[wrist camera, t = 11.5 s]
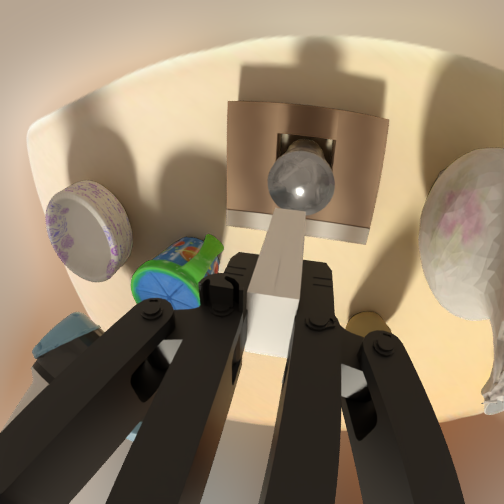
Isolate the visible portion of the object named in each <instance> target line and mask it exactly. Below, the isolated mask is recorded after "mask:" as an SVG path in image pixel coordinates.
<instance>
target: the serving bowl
mask: <svg viewBox="0 0 504 504" xmlns="http://www.w3.org/2000/svg"><path fill="white" fill-rule="evenodd" d="M503 400H504V396H503ZM484 401H485V400H484ZM502 411H504V401H503V403H502V401H499V400H497V404H496V403H487V404H484V412H485V414H488V415H492V414H496V413H499V412H502Z"/></svg>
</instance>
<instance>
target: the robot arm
mask: <svg viewBox="0 0 504 504" xmlns="http://www.w3.org/2000/svg"><path fill="white" fill-rule="evenodd" d="M305 217H306V211H298V210H290V209H282V208H275V210H274V213H273V216H272V219H271V222H270V225H269V228H268V231H267V234H266V237H265V240H264V243H263V246H262V249H261V252H260V255H257V254H250V253H242V252H239V253H237V254H236V255H234V256H233V257H232V258H231V259H230V261H229V263H228V265H227V267H226V269H225V271H224V273H215V274H210V275H208V276H206V277H204V278H202V279H201V280H200V281H199V282H198V287H199V297H200V306H199V307H197V308H193V309H179V310H174V309H173V307H172V305H171V303H170V302H168V301H167V300H166V299H162V298H149V299H145V300H143V301H141V302H139V303H138V304H136V305H135V306H134V307H133V308H132V309H131V310H130V311H128V312H127V313H126V314H125V315H124V316H123V317H122V318H120V319H119V320H118V321H117V322H116V323H115V324H114V325H113V326H111V327H110V328H109V329H108V330H107V331H106V332H104V331H103V330H102V329H100V328H101V327H100V326H99V325H96V324H95V323H94V322H93V321H92V320H90V319H89V318H88V317H87V316H86V315H85V314H83V313H80V312H74V313H72V314H70V315H69V316H67V317H66V318H65V319H63V320H62V321H61V322H60V323H58V324H57V325H56V326H55V327H54V328H53V329H52V330H50V331H49V333H47V334H46V335H45V336H44V337H43V339H41V341H40V342H39V343H38V344H37V345H36V346H35V347H34V349H33V351H32V353H33V355H34V358H35V359H37V361H36V362H35V363H34V365H33V366H32V367H31V369H32V376H33V383H32V385H31V386H30V388H29V389H28V390H27V392H26V393H25V395H24V397H23V398H22V399H21V401H20V402H19V404H18V405H17V407H16V409H15V410H14V412H13V414H12V415H11V416H10V418H9V420H8V422H7V423H6V425H5V426H4V428H3V430H2V431H1V433H0V504H69V503H70V501H71V500H72V499H73V498H74V497H75V496H76V495H77V494H78V493H79V491H80V490H81V489H82V488H83V487H84V486H85V485H86V484H87V482H88V481H89V480H90V479H91V478H92V477H93V476H94V475H95V473H96V472H97V471H98V470H99V469H100V468H101V466H102V465H103V464H104V463H105V462H106V461H107V460H108V458H109V457H110V456H111V455H112V454H113V453H114V451H115V450H116V449H117V448H118V447H119V445H121V443H122V442H123V441H124V440H125V439H128V440H131V441H133V443H132V445H131V448H130V450H129V452H128V454H127V456H126V458H125V461H124V463H123V465H122V468H121V470H120V472H119V474H118V476H117V478H116V481H115V483H114V486H113V487H112V490H111V492H110V494H109V497H108V499H107V501H106V504H200V502H201V499H202V496H203V492H204V489H205V486H206V483H207V480H208V477H209V474H210V470H211V467H212V464H213V461H214V457H215V454H216V451H217V448H218V444H219V441H220V438H221V434H222V431H223V427H224V424H225V421H226V418H227V414H228V411H229V408H230V404H231V401H232V397H233V394H234V390H235V387H236V383H237V380H238V376H239V373H240V369H241V366H242V354H243V351H244V347H245V352H251V353H256V354H263V355H269V356H275V357H282V358H287V362H286V367H285V371H284V375H283V379H282V389H281V395H280V401H279V407H278V412H277V418H276V423H275V429H274V434H273V439H272V444H271V449H270V454H269V459H268V464H267V469H266V473H265V477H264V482H263V486H262V491H261V495H260V499H259V504H335V496H336V487H337V476H338V465H339V451H340V432H341V408H342V412H343V416H344V420H345V424H346V428H347V432H348V436H349V440H350V444H351V448H352V453H353V457H354V462H355V466H356V470H357V475H358V480H359V485H360V490H361V494H362V500H363V504H465V502H464V498H463V494H462V491H461V487H460V483H459V480H458V477H457V473H456V470H455V467H454V464H453V461H452V458H451V455H450V452H449V450H448V446H447V444H446V441H445V438H444V435H443V433H442V430H441V428H440V425H439V423H438V420H437V418H436V415H435V413H434V410H433V408H432V405H431V403H430V401H429V398H428V396H427V394H426V392H425V389H424V387H423V385H422V383H421V380H420V378H419V376H418V374H417V372H416V370H415V368H414V366H413V364H412V361H411V359H410V357H409V355H408V353H407V351H406V349H405V347H404V345H403V343H402V342H401V341H400V340H399V338H398V337H396V336H395V335H394V334H392V333H390V332H387V331H384V330H375V331H372V332H369V333H368V334H367V335H366V336H365V337H362V336H359V335H356V334H354V333H351V332H349V331H347V330H346V329H344V328H343V327H342V326H341V325H340V324H339V321H338V319H337V318H336V317H335V313H334V295H333V281H332V270H331V269H330V268H329V266H328V265H327V263H323V262H316V261H308V260H303V250H304V235H305Z"/></svg>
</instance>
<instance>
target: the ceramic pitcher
mask: <svg viewBox="0 0 504 504" xmlns="http://www.w3.org/2000/svg"><path fill="white" fill-rule="evenodd" d="M418 242H419V252H420V257H421V263H422V268H423V272H424V275H425V278H426V280H427V282H428V285H429V287H430V289H431V291H432V293H433V295H434V296H435V298H436V299H437V301H438V302H439V303H440V305H441V306H442V307H444V308H445V309H446V310H447V311H449V312H450V313H451V314H453V315H455V316H457V317H460V318H463V319H465V320H471V321H479V320H486V319H490V323H491V326H492V331H493V343H494V361H493V368H492V372H491V375H490V378H489V380H488V381H487V383H486V384H485V385H484V387H483V388H482V391H481V394H482V396H483V397H484V399H485V401H484V403H481V404H487V403H496V404H497V400H499V401H502V403H503V401H504V400H503V396H504V148H483V149H477V150H473V151H471V152H469V153H467V154H465V155H463V156H461V157H460V158H458V159H457V160H455V161H454V162H453V163H452V164H451V165H449V166H448V168H447V169H445V170H443V171H441V172H440V173H439V176H438V178H437V180H436V182H435V184H434V186H433V187H432V189H431V191H430V193H429V195H428V197H427V199H426V202H425V205H424V207H423V210H422V214H421V218H420V230H419V239H418Z"/></svg>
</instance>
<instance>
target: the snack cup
mask: <svg viewBox="0 0 504 504" xmlns="http://www.w3.org/2000/svg"><path fill="white" fill-rule="evenodd" d="M223 250H224V247H223V245H222V243H221V242H220V241H219V240H218V239H216V238H215V237H214V236H212V235H210V234H207V235H206V236H205V240H204V241H202V240H199V239H197V238H193V237H191V238H188V237H185V238H182V239H180V240H178V241H176V242H175V243H174V244H172V245H171V246H170V247H168V248H167V249H165V250H164V251H163V252H161V253H160V254H159V255H158V256H156V257H155V258H154V259H152V260H149V261H146V262H145V263H144V264H142V265H141V266H140V267H139V268H138V269H137V270H136V271H135V273H134V274H133V276H132V279H131V291H132V294H133V297H134V299H135V301H136V303H137V304H138V303H139V302H141V301H143V300H145V299H149V298H162V299H166V300H167V301H168V302H170V303H171V305H172V307H173V309H174V310H179V309H193V308H197V307H199V306H200V297H199V287H198V282H199V281H200V280H201V279H202V278H204V277H206V276H208V275H210V274H215V273H218V270H219V261H218V257H217V255H218V254H220V253H221V252H222V251H223Z"/></svg>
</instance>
